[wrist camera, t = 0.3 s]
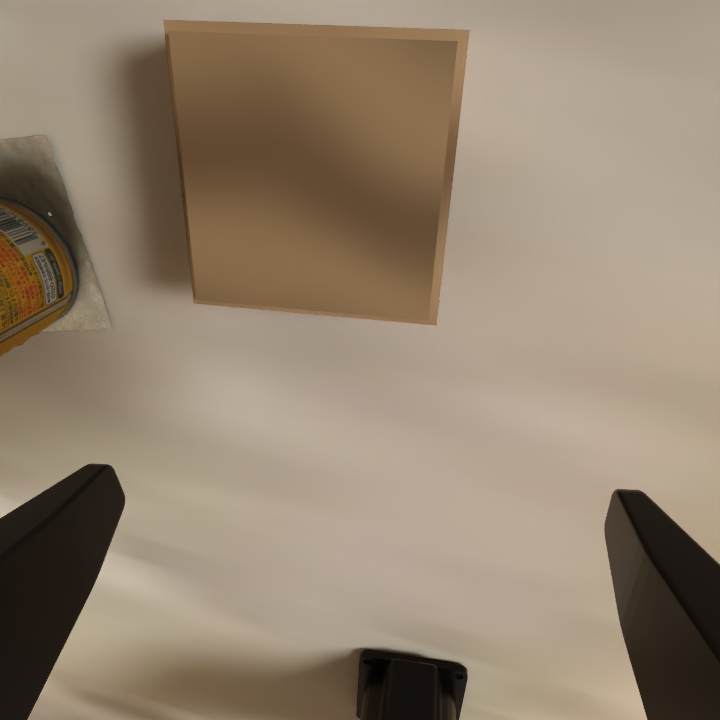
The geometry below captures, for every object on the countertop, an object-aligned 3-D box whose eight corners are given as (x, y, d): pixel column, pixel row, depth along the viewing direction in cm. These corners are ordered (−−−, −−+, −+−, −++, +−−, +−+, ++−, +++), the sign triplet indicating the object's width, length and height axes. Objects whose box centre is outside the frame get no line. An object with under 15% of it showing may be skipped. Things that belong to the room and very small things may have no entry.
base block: (437, 291, 23) (436, 329, 19) (227, 273, 23) (189, 307, 20) (465, 39, 18) (470, 28, 15) (209, 30, 19) (157, 18, 16)
